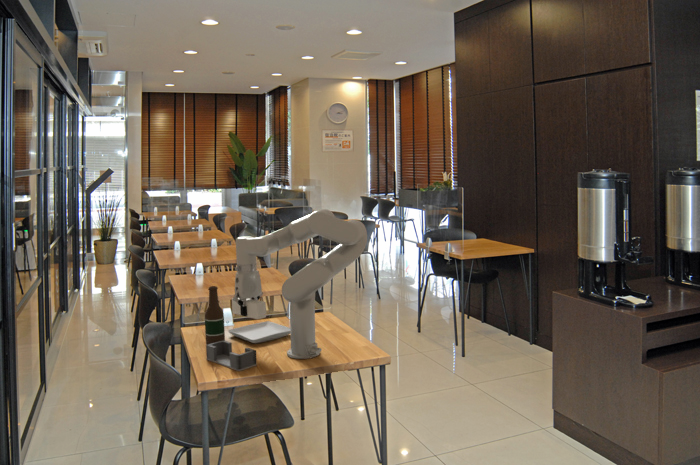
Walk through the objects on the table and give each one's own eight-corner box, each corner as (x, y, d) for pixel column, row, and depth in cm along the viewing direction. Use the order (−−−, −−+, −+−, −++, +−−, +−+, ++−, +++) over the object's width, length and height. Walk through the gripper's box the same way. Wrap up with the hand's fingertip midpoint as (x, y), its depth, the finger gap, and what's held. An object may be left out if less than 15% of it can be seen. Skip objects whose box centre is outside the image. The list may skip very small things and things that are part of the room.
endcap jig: (256, 365, 202) (256, 350, 201) (238, 371, 196) (238, 355, 196) (224, 354, 215) (223, 340, 215) (206, 359, 209) (205, 345, 209)
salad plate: (226, 337, 240) (226, 329, 239) (268, 327, 254) (268, 320, 253) (253, 347, 224) (252, 339, 224) (295, 336, 238) (295, 329, 238)
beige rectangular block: (266, 317, 213) (265, 301, 212) (257, 319, 210) (257, 303, 209) (240, 311, 224) (240, 296, 223) (232, 313, 221) (231, 298, 220)
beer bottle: (207, 347, 224) (204, 289, 221) (204, 342, 231) (201, 285, 228) (226, 345, 227) (224, 287, 224) (223, 340, 234) (220, 284, 231)
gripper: (234, 272, 206) (237, 320, 208) (269, 266, 218) (271, 311, 220) (223, 270, 211) (225, 317, 213) (257, 264, 223) (259, 309, 225)
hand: (248, 314), depth 217 cm, fingers closed on beige rectangular block, 4 cm apart
